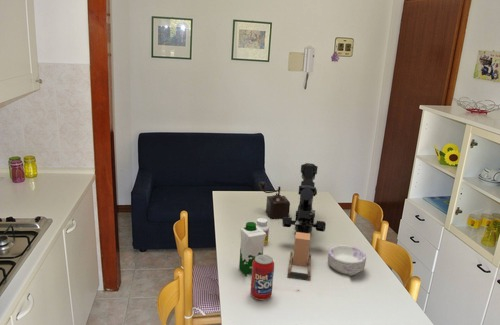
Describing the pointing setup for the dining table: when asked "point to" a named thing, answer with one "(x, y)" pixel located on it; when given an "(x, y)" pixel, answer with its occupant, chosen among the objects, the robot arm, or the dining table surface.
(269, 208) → the brown manual coffee grinder
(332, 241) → the dining table surface
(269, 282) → the soda can
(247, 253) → the milk carton
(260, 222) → the supplement bottle
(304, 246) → the block
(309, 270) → the brown wooden tray
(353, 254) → the paper bowls
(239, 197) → the dining table surface
